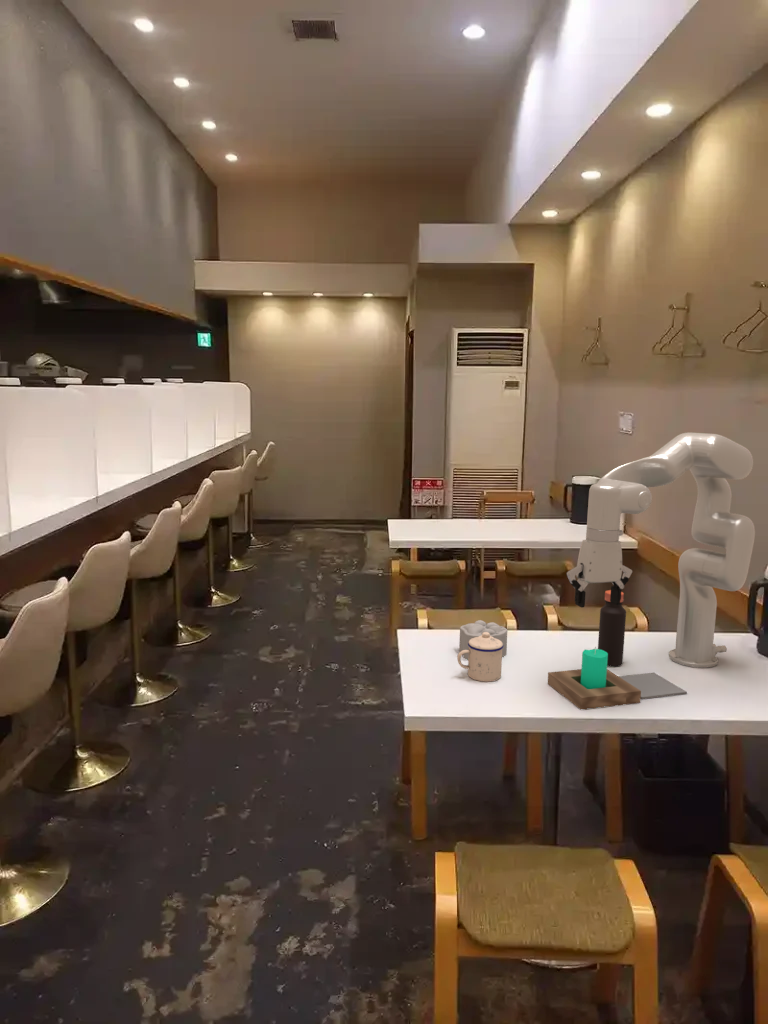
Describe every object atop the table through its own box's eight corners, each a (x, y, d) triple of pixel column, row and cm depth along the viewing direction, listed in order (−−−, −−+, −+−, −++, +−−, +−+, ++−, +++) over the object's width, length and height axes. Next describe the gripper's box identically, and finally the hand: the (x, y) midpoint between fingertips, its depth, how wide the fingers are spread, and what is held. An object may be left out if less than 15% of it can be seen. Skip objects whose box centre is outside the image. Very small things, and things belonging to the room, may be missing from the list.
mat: (653, 674, 193) (654, 672, 193) (686, 694, 180) (687, 691, 180) (610, 679, 189) (611, 677, 189) (641, 699, 177) (641, 697, 177)
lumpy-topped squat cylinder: (456, 648, 210) (457, 619, 209) (499, 646, 213) (500, 617, 211) (467, 661, 200) (468, 631, 199) (512, 659, 203) (513, 629, 201)
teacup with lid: (494, 668, 196) (496, 626, 194) (507, 681, 187) (509, 637, 185) (452, 670, 193) (453, 628, 191) (462, 684, 184) (463, 640, 183)
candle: (605, 690, 182) (608, 644, 180) (604, 699, 177) (607, 652, 175) (580, 686, 184) (583, 641, 182) (579, 695, 178) (582, 649, 177)
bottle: (610, 656, 205) (615, 588, 202) (627, 665, 199) (633, 594, 196) (591, 660, 202) (596, 590, 199) (608, 668, 196) (613, 597, 193)
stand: (602, 677, 190) (603, 666, 190) (640, 702, 175) (641, 690, 174) (547, 683, 186) (548, 672, 185) (581, 709, 171) (581, 697, 170)
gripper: (624, 531, 180) (619, 598, 182) (562, 533, 175) (557, 602, 178) (643, 537, 173) (637, 607, 175) (578, 539, 168) (573, 611, 170)
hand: (597, 604), depth 176 cm, fingers open, 9 cm apart
